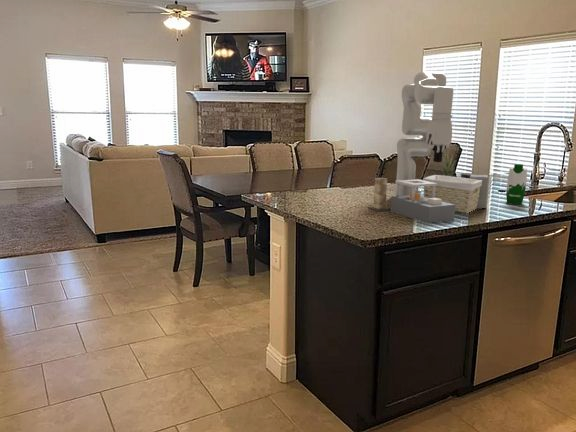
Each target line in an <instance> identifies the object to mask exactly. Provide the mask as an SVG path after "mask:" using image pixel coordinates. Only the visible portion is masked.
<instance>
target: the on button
mask: <svg viewBox="0 0 576 432" xmlns="http://www.w3.org/2000/svg"><path fill="white" fill-rule="evenodd" d="M441 203H442V199H439V198H428V204H432V205H440V204H441Z"/></svg>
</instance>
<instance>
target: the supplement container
mask: <svg viewBox="0 0 576 432" xmlns="http://www.w3.org/2000/svg"><path fill="white" fill-rule="evenodd" d="M470 175H480V174H478V173H472V172H462V173H461V174H460V178H469V179H470Z"/></svg>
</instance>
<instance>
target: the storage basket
mask: <svg viewBox="0 0 576 432" xmlns="http://www.w3.org/2000/svg"><path fill="white" fill-rule="evenodd" d="M423 180H424V181H429V182H433V183H437V186H436V187H435V198H439V199H442V201H443V202H447V203H451V204H455V213H456V212H457V213H460V212H462V213H461V214H470V213H472V212H474V211H476V210H477V209H478V208H477V204H478V203H477V202H478V198H479V193H480V187H481V186H482V180H476V179H469V178H461V176H460V177H458V176H457V177H456V176H452V177H451V176H443V175H440V174H438V175H437V174H433V175H429V176H426V177H423ZM432 189H433V186H423V197H427V198H432ZM475 209H476V210H475ZM473 210H474V211H473ZM471 211H472V212H471ZM469 212H470V213H469Z"/></svg>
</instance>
